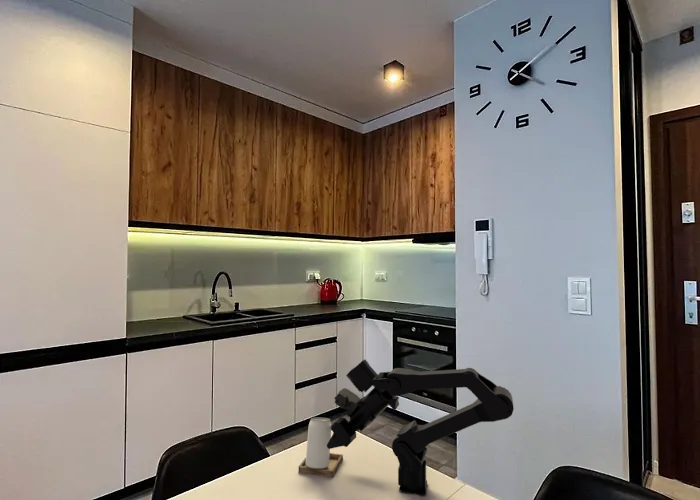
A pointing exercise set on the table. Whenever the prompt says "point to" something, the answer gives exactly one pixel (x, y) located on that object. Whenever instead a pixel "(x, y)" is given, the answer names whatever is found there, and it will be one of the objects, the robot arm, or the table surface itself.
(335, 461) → the wooden tray
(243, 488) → the table surface
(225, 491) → the table surface
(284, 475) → the table surface
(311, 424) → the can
